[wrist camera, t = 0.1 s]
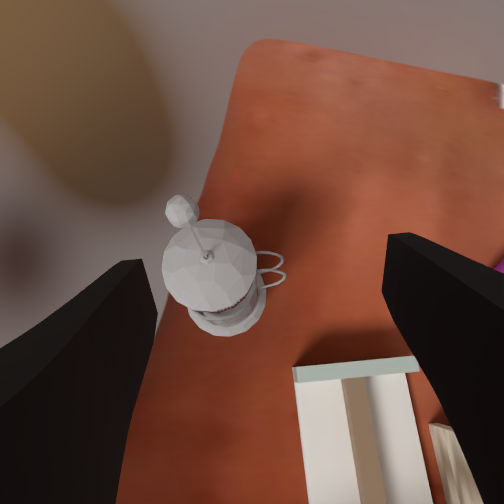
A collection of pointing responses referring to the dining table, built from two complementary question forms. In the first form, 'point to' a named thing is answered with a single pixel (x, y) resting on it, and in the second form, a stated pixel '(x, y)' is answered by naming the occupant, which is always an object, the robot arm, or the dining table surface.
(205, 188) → the dining table surface
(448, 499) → the saddle block
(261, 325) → the dining table surface
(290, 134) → the dining table surface
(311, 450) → the board
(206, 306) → the french press
